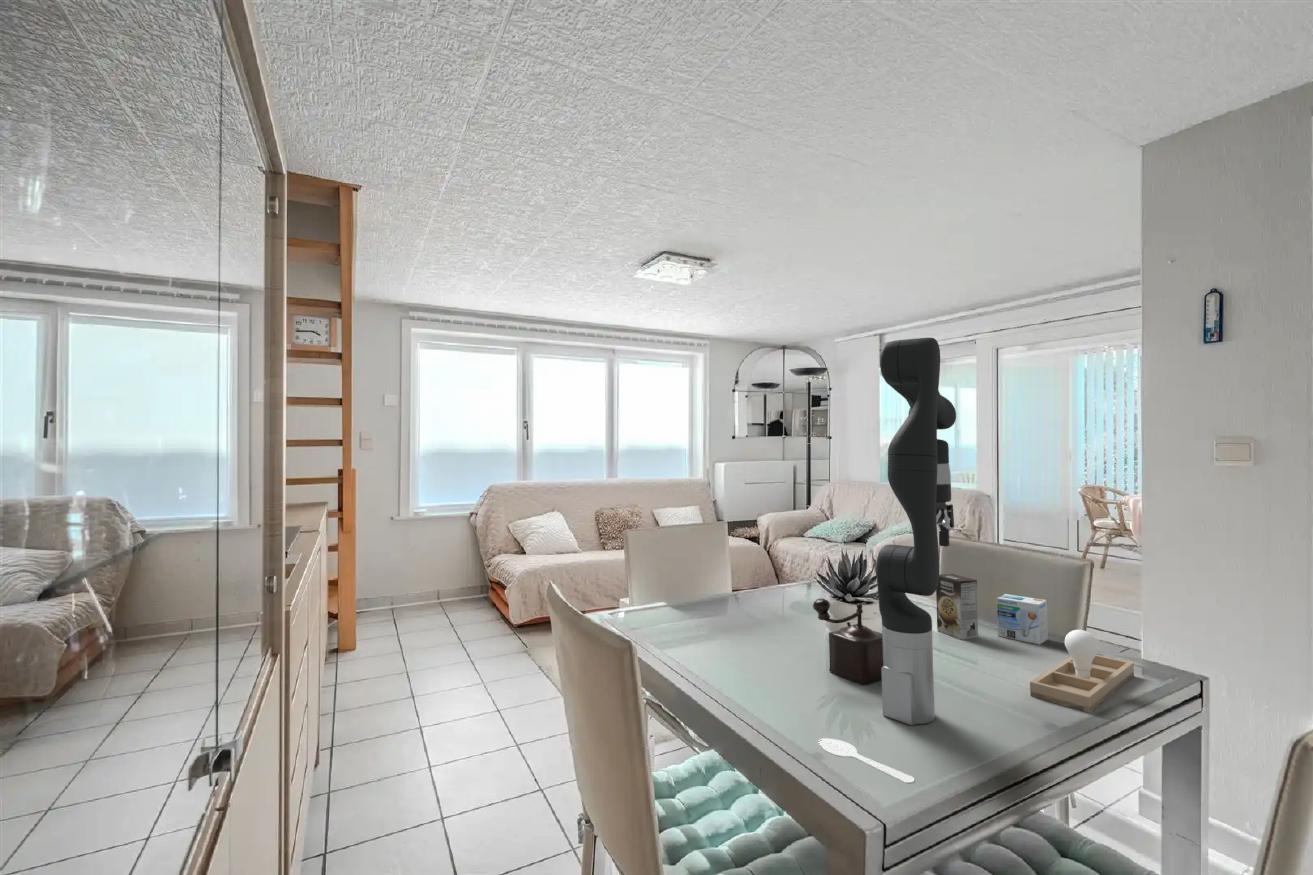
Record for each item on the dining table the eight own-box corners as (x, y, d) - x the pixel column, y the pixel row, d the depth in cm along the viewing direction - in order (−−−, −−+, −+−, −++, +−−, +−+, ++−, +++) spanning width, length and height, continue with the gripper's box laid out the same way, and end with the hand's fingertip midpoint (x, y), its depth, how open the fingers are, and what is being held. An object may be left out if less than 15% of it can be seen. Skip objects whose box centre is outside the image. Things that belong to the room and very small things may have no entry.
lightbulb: (1106, 686, 126) (1103, 634, 127) (1074, 685, 128) (1072, 633, 128) (1091, 676, 132) (1089, 626, 133) (1061, 674, 134) (1058, 625, 134)
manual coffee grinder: (856, 662, 147) (854, 589, 147) (894, 676, 137) (892, 598, 138) (810, 675, 139) (808, 598, 139) (848, 691, 129) (845, 608, 130)
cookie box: (936, 630, 171) (934, 574, 171) (954, 628, 173) (952, 572, 173) (961, 640, 162) (959, 580, 162) (979, 637, 164) (977, 579, 164)
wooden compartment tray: (1089, 712, 117) (1089, 697, 117) (1030, 696, 125) (1029, 681, 125) (1134, 675, 135) (1133, 662, 135) (1079, 663, 143) (1079, 650, 143)
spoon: (904, 790, 92) (904, 786, 92) (810, 745, 106) (810, 742, 106) (922, 778, 95) (922, 774, 95) (829, 736, 110) (829, 733, 110)
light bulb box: (996, 636, 165) (995, 597, 165) (1005, 631, 169) (1004, 593, 170) (1041, 645, 157) (1039, 604, 157) (1048, 639, 161) (1047, 599, 162)
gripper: (934, 483, 139) (936, 553, 138) (963, 481, 148) (965, 546, 147) (904, 483, 145) (906, 549, 144) (933, 480, 154) (935, 543, 153)
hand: (935, 547), depth 146 cm, fingers open, 8 cm apart
